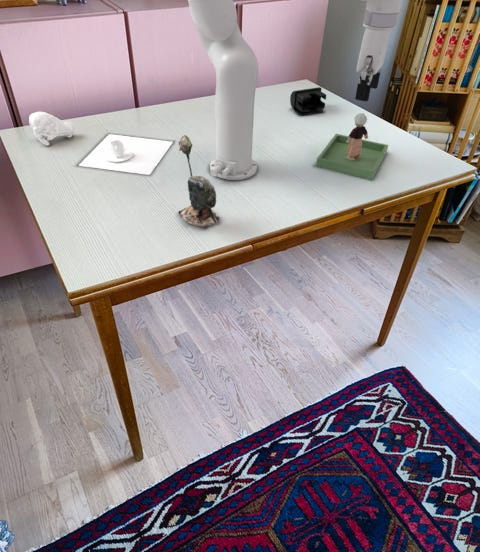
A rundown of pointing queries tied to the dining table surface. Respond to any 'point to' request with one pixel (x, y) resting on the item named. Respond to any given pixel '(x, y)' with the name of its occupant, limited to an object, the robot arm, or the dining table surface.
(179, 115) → the dining table surface
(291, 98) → the end cap
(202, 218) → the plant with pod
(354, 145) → the grandmother figurine
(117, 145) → the teacup and saucer
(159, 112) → the dining table surface
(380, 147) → the tray
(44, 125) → the white animal figurine
